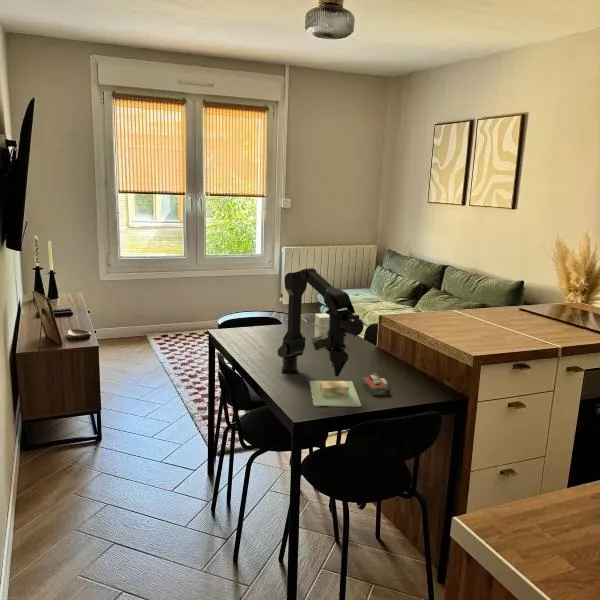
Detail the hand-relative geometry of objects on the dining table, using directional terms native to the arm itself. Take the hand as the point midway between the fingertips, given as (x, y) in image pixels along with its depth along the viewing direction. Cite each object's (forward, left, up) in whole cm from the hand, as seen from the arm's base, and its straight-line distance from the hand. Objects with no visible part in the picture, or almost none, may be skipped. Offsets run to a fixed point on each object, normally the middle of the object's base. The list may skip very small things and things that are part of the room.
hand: (335, 371), depth 188 cm
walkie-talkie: (-8, +16, -9) cm, 20 cm away
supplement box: (-63, +2, -9) cm, 64 cm away
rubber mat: (0, 0, -8) cm, 8 cm away
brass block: (0, 0, -8) cm, 8 cm away
